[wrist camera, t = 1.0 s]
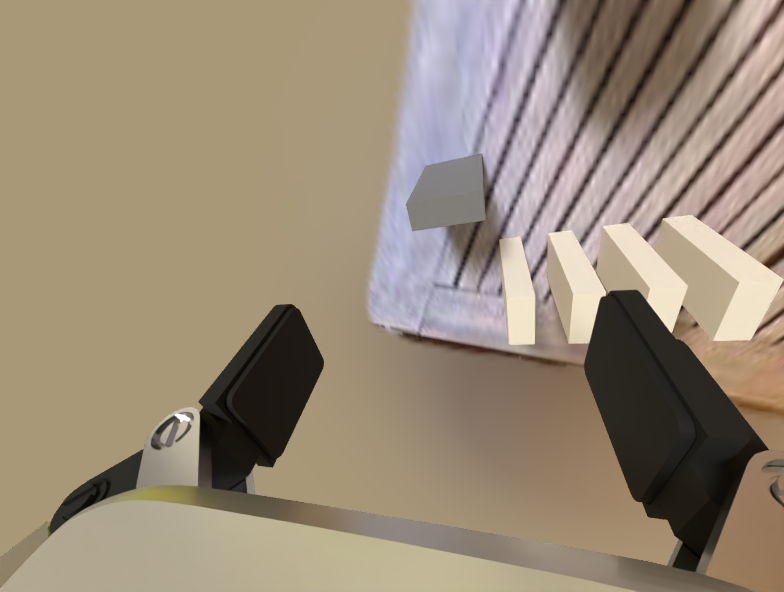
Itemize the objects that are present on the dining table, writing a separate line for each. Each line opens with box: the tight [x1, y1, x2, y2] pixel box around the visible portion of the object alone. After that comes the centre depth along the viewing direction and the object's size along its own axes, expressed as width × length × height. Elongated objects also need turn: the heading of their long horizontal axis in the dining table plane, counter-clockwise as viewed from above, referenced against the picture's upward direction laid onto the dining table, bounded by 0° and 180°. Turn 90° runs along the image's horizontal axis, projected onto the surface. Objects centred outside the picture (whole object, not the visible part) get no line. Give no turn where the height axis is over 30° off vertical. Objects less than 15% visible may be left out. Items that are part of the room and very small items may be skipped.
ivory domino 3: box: [596, 223, 688, 333], centre depth 25 cm, size 2×5×10 cm, turn 15°
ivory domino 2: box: [547, 230, 606, 344], centre depth 26 cm, size 2×5×10 cm, turn 15°
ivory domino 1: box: [499, 237, 535, 345], centre depth 28 cm, size 2×5×10 cm, turn 15°
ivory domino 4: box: [655, 215, 784, 341], centre depth 23 cm, size 2×5×10 cm, turn 15°
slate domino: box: [406, 154, 486, 231], centre depth 24 cm, size 2×5×10 cm, turn 105°
